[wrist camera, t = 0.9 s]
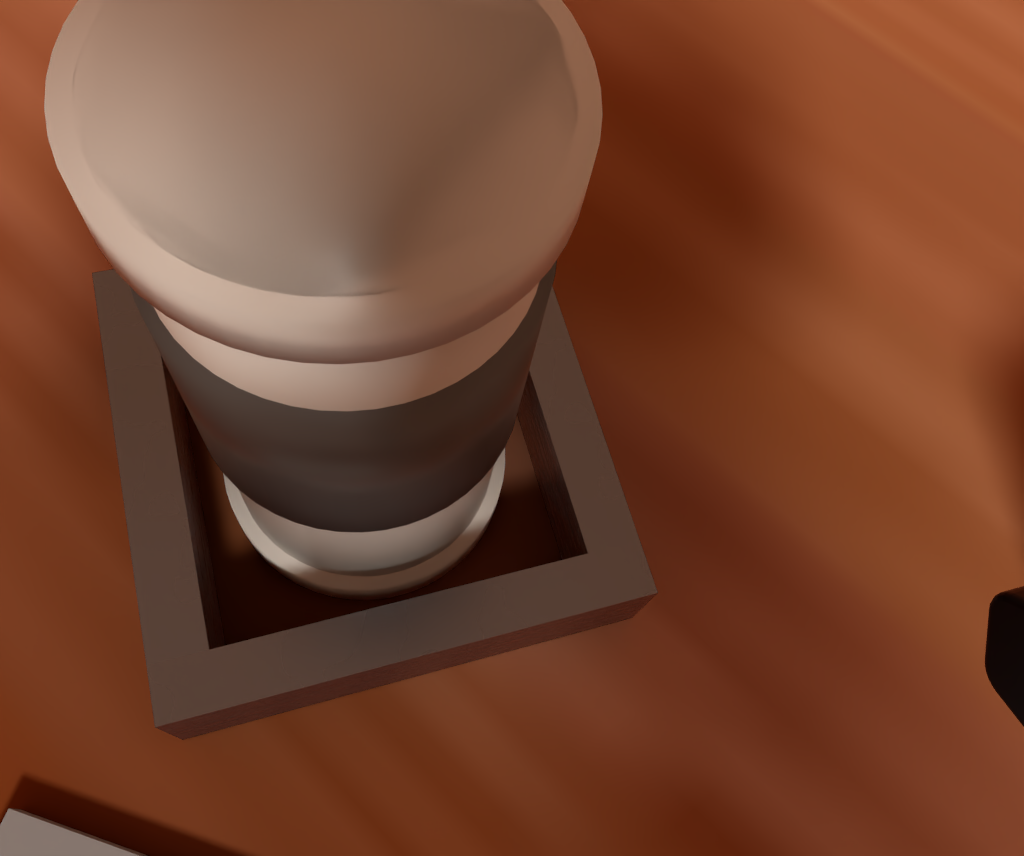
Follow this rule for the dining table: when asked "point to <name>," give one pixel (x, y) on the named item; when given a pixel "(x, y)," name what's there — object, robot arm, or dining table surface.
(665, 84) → the dining table surface
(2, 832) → the rubber mat
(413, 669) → the reel dock
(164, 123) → the cable reel
